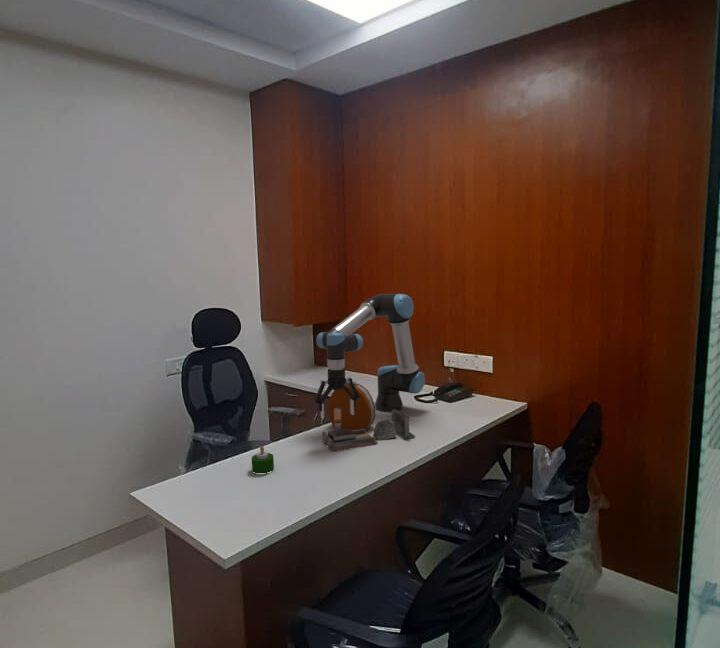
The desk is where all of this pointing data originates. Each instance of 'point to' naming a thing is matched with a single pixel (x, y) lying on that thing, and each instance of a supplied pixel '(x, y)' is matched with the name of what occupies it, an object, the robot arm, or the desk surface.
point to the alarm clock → (362, 410)
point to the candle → (262, 462)
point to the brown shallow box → (350, 441)
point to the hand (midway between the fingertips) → (337, 416)
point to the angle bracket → (401, 424)
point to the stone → (384, 429)
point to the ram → (340, 433)
